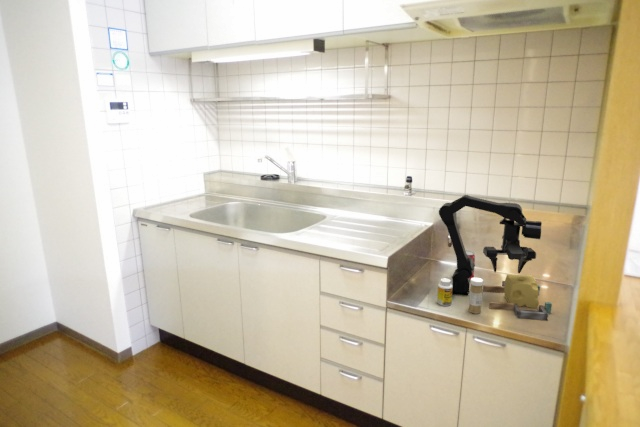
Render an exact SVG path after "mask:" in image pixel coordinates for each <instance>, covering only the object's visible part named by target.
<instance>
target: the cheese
mask: <svg viewBox="0 0 640 427" xmlns="http://www.w3.org/2000/svg"><path fill="white" fill-rule="evenodd" d="M504 281H505V286H504V292H505V293H504V296H505V298H506V300H507V303H516V304H517V305H518V307H519V308H522V307H524V306H525V307H527V308H532V309H537V308H539V299H538V298H539V296H540V291H539V290H538V286H537V285H538V282H537V280H536V279H535V277H534V275H531V274H524V275H522V274H521V275H519V274H506V277H505V280H504Z"/></svg>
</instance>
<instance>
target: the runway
mask: <svg viewBox="0 0 640 427" xmlns="http://www.w3.org/2000/svg"><path fill="white" fill-rule="evenodd" d="M504 286H505V280H502V282H501V285H485V284H483V286H482V293H483V292H485V293H499V294H500V293H501V294H505V292H504ZM537 286H538V290H539V292H540V290H541V286H540V285H539V284H537ZM552 307H553V303H552V302H551V301H549V302H548V301H544V305H540V304H538V310H537V309H536V310H533V309H522V308H520V307H518V305H517V304H516V303H509V302H501V301H498V302H497V301H489V304H488V308H489V310H500V311H501V310H502V311H513V312H514V315H515V316H516V319H527V320H537V321H539V320H540V321H548V318H549V314H550V315H551V314H552Z"/></svg>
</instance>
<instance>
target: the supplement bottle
mask: <svg viewBox="0 0 640 427" xmlns="http://www.w3.org/2000/svg"><path fill="white" fill-rule="evenodd" d="M437 286H438V287H437V298H436V299H437V300H436V301H437V304H438V305H440V306H442V307H443V306H444V307H448V306H451V305H452V299H453V294H452V288H453V286H452V279H450V278H444V277H443V278H442V277H441V279H440V282H439V283H438V285H437Z"/></svg>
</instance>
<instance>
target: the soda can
mask: <svg viewBox="0 0 640 427" xmlns="http://www.w3.org/2000/svg"><path fill="white" fill-rule="evenodd" d="M465 251H466V254H467V256H468V257H469V258H470V257H472V258H473V262H474V264H475V265H476V256H475V252H474V251H471V250H466V249H465ZM474 277H475V270H474V271H473V273H472V276H471V277H470V278H468V281H469V283H470V281H471V278H474Z"/></svg>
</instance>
